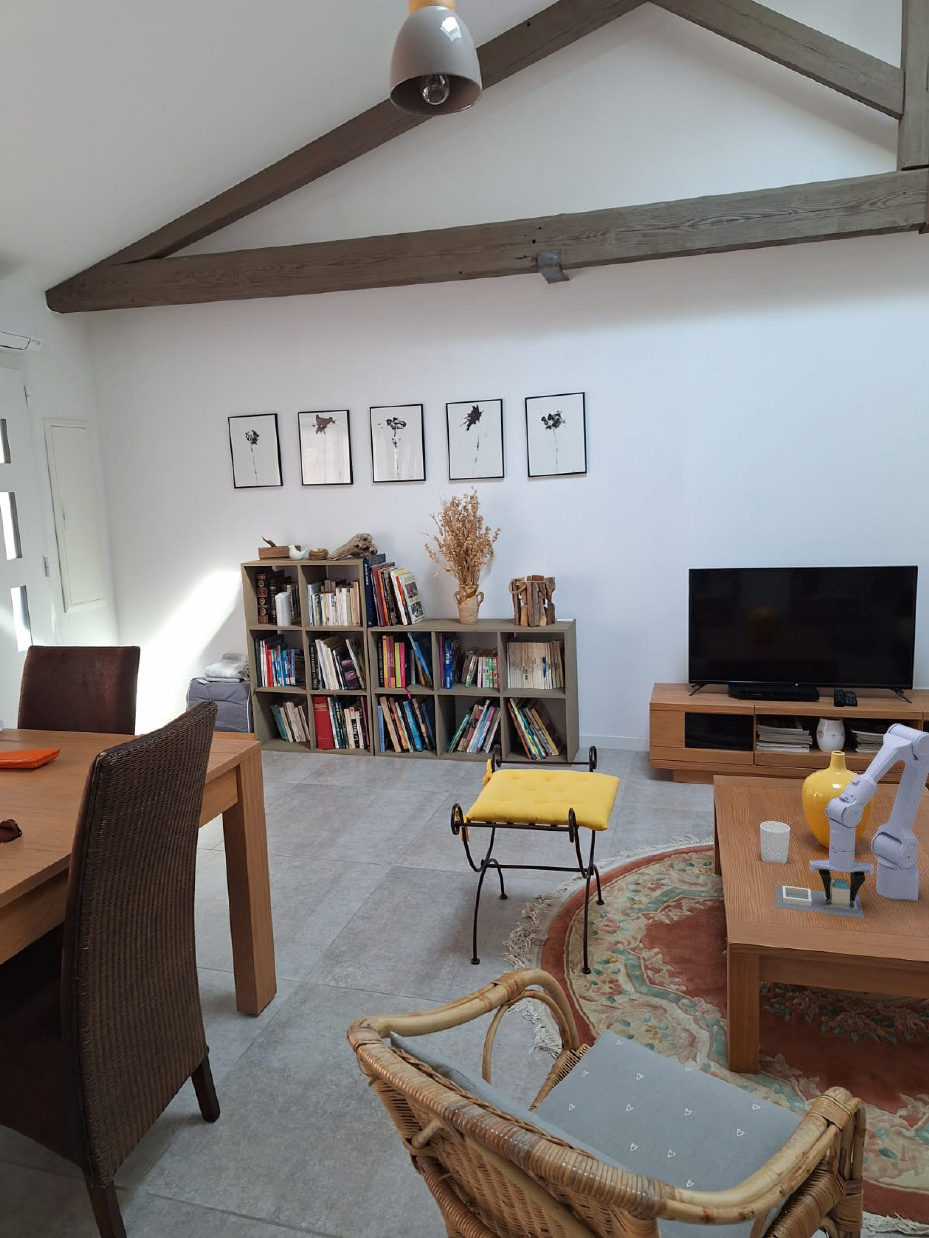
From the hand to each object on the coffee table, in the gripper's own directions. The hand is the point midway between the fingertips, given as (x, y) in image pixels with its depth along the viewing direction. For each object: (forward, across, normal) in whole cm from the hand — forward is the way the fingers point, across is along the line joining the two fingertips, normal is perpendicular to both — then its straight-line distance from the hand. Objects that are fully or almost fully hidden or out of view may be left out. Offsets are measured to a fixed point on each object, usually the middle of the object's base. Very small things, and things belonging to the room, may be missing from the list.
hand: (839, 898), depth 210 cm
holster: (+1, 0, 0) cm, 1 cm away
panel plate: (+2, +5, -1) cm, 6 cm away
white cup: (+3, +12, -26) cm, 28 cm away
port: (+2, +10, -1) cm, 10 cm away
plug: (+1, 0, 0) cm, 1 cm away
